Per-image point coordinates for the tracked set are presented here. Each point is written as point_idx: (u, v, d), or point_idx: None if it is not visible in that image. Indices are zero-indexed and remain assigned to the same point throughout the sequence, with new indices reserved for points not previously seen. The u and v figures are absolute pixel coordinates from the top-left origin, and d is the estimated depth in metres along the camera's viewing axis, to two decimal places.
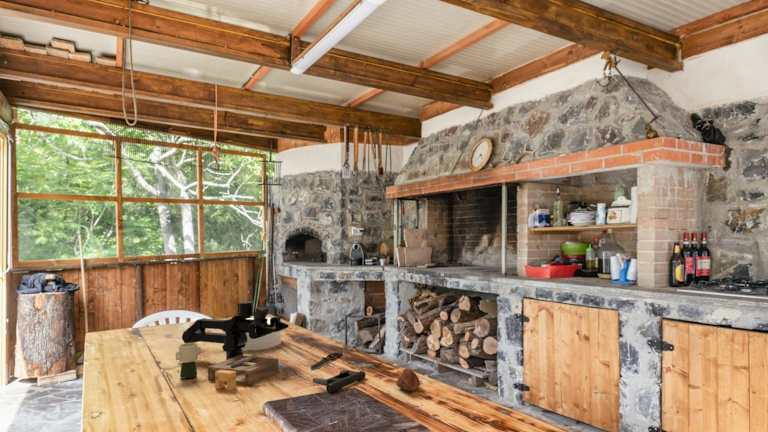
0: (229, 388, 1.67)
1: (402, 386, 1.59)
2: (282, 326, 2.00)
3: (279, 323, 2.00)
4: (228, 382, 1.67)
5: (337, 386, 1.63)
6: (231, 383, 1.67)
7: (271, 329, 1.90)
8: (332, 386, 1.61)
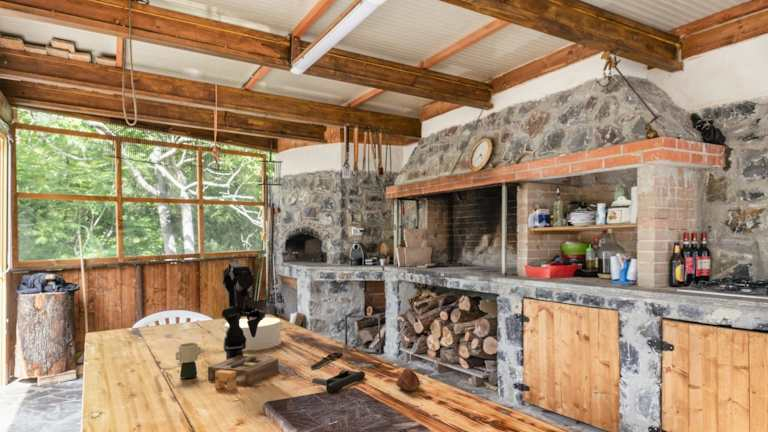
0: (229, 388, 1.67)
1: (402, 386, 1.59)
2: (252, 328, 1.80)
3: (254, 324, 1.81)
4: (228, 382, 1.67)
5: (337, 386, 1.63)
6: (231, 383, 1.67)
7: (237, 331, 1.71)
8: (332, 386, 1.61)
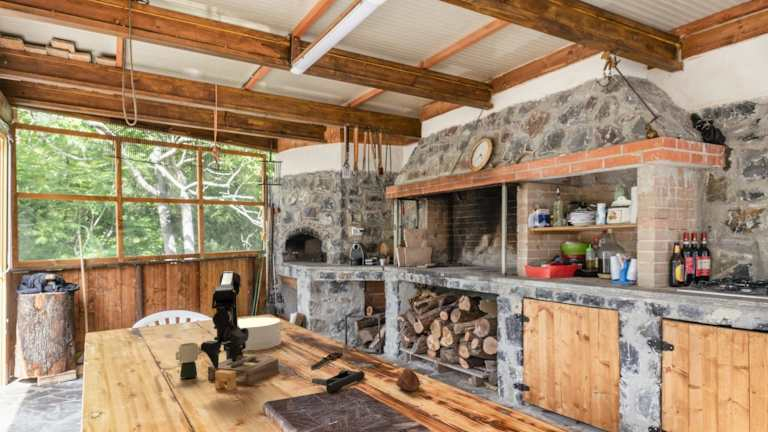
0: (229, 388, 1.67)
1: (402, 386, 1.59)
2: (233, 353, 1.75)
3: (236, 349, 1.74)
4: (228, 382, 1.67)
5: (337, 386, 1.63)
6: (231, 383, 1.67)
7: (216, 365, 1.65)
8: (332, 386, 1.61)
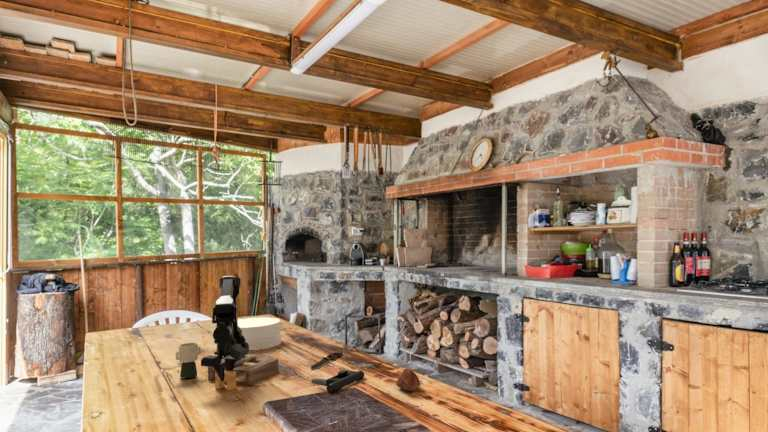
0: (229, 388, 1.67)
1: (402, 386, 1.59)
2: (227, 369, 1.72)
3: (230, 365, 1.71)
4: (228, 382, 1.67)
5: (337, 386, 1.63)
6: (231, 383, 1.67)
7: (222, 377, 1.68)
8: (332, 386, 1.61)
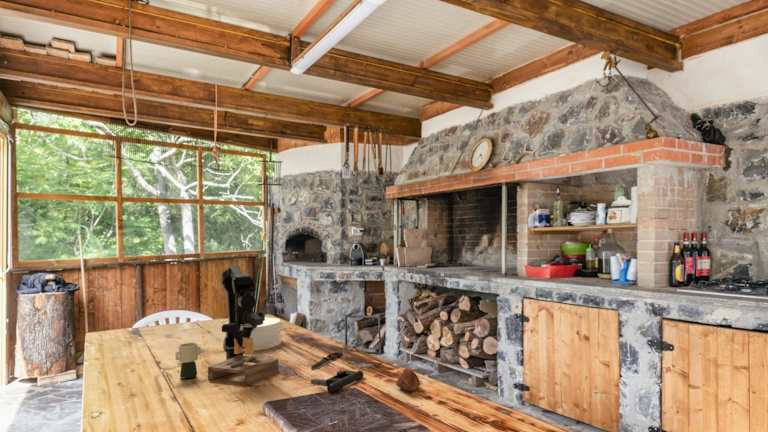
0: (247, 353, 1.83)
1: (402, 386, 1.59)
2: (245, 336, 1.87)
3: (248, 333, 1.87)
4: (246, 347, 1.83)
5: (338, 386, 1.63)
6: (248, 348, 1.83)
7: (240, 343, 1.83)
8: (333, 386, 1.61)
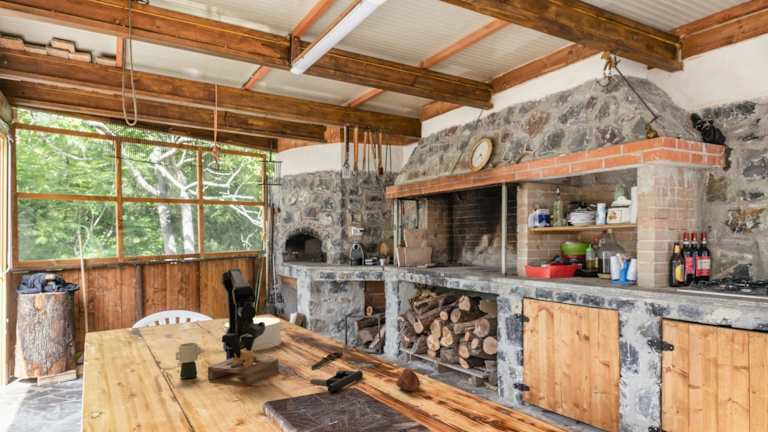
0: (247, 366, 1.83)
1: (402, 386, 1.59)
2: (247, 346, 1.88)
3: (250, 342, 1.88)
4: (246, 360, 1.83)
5: (338, 386, 1.63)
6: (249, 362, 1.83)
7: (238, 354, 1.82)
8: (334, 386, 1.61)
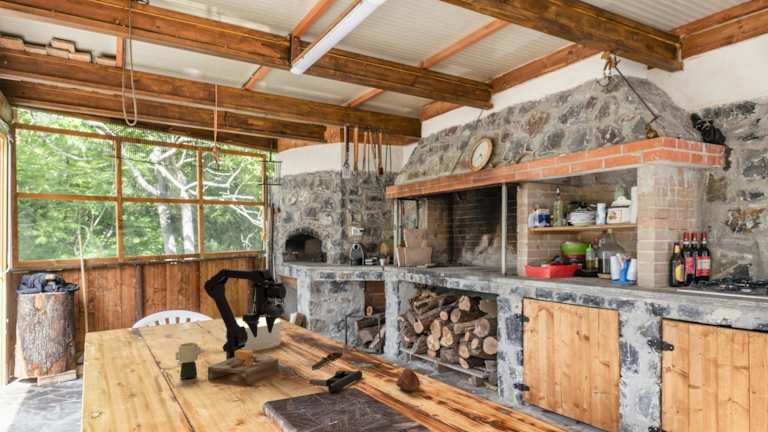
0: (247, 366, 1.83)
1: (402, 386, 1.59)
2: (269, 325, 2.03)
3: (271, 322, 2.03)
4: (246, 360, 1.83)
5: (339, 386, 1.63)
6: (249, 362, 1.83)
7: (255, 334, 1.94)
8: (334, 386, 1.61)
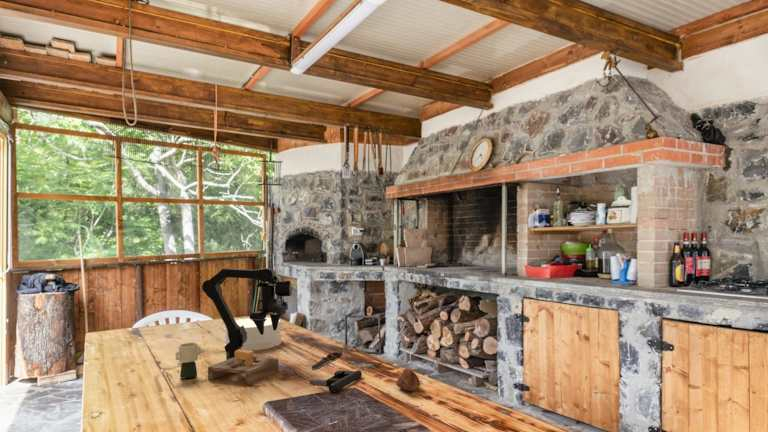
0: (247, 366, 1.83)
1: (402, 386, 1.59)
2: (274, 323, 2.08)
3: (276, 319, 2.08)
4: (246, 361, 1.83)
5: (339, 386, 1.63)
6: (249, 362, 1.83)
7: (261, 331, 1.99)
8: (335, 386, 1.61)
